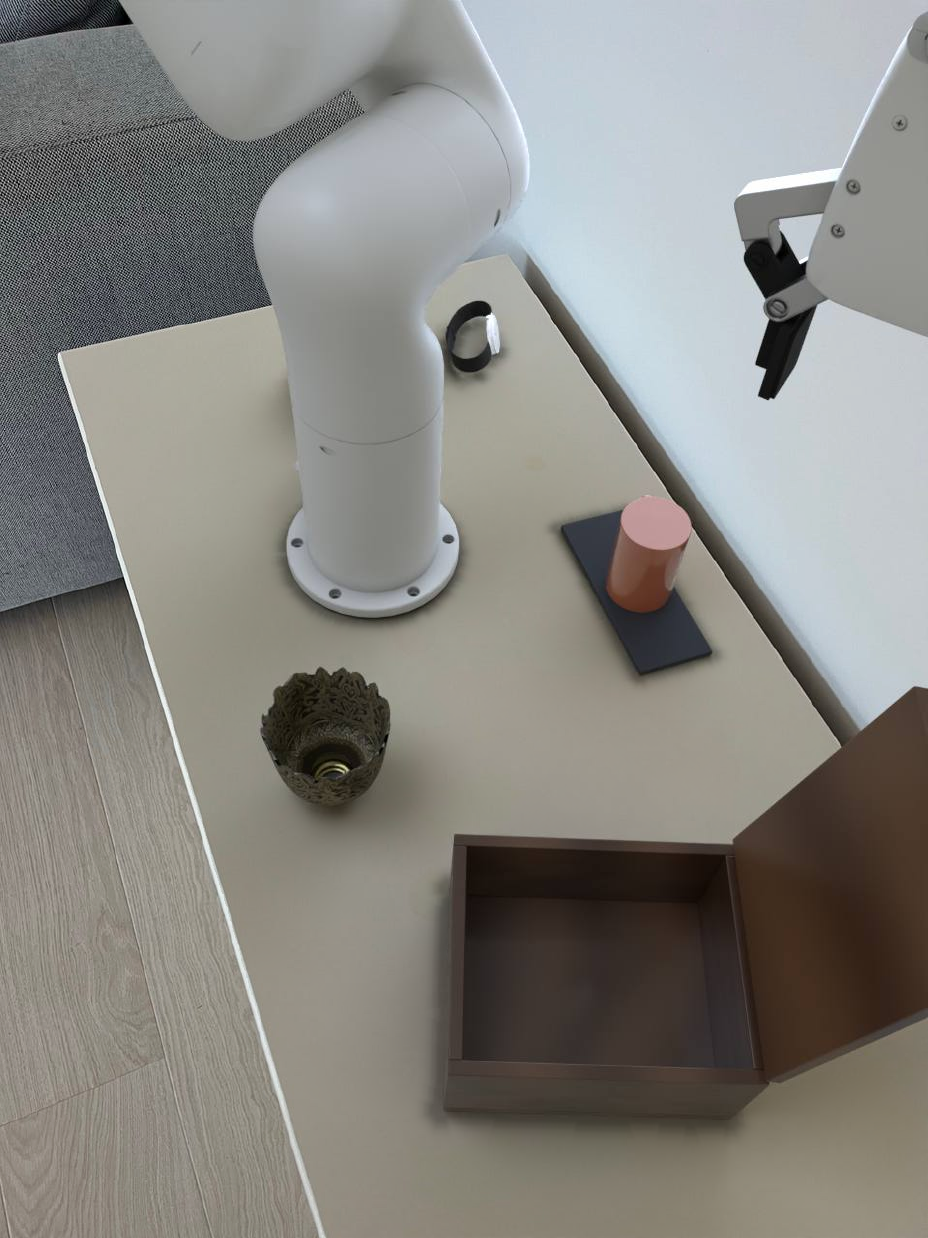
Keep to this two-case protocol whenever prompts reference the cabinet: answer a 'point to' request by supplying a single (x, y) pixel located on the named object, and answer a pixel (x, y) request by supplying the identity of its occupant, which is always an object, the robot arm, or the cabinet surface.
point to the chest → (598, 979)
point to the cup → (327, 734)
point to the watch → (493, 343)
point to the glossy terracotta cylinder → (647, 553)
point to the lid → (841, 897)
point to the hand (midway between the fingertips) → (878, 422)
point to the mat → (642, 634)
